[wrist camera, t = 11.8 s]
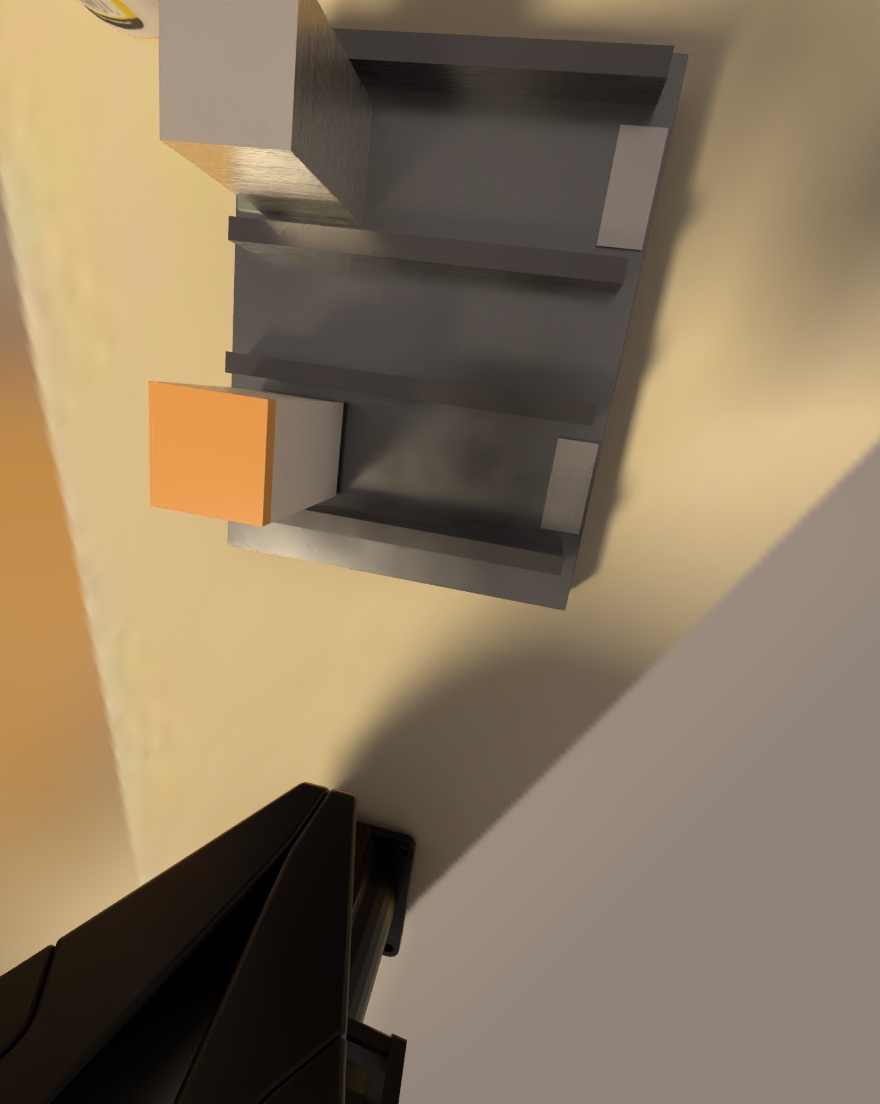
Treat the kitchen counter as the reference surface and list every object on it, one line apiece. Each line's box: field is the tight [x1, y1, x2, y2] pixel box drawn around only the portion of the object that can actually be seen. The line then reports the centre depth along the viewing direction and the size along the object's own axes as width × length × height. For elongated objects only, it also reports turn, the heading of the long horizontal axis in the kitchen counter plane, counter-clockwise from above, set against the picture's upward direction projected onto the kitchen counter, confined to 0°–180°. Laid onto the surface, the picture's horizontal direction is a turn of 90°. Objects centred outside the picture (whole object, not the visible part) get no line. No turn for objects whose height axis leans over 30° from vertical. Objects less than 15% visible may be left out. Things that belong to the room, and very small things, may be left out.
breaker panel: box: [158, 0, 688, 610], centre depth 14 cm, size 15×12×6 cm
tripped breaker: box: [149, 381, 344, 527], centre depth 15 cm, size 3×3×5 cm
